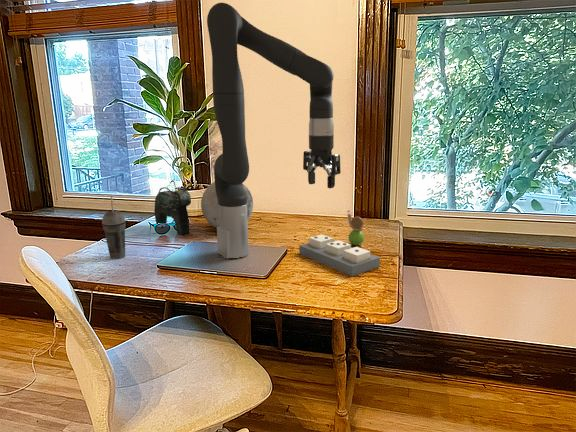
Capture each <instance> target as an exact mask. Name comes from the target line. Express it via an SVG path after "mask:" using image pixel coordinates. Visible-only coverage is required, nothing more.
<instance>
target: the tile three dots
mask: <svg viewBox="0 0 576 432" xmlns="http://www.w3.org/2000/svg"><path fill="white" fill-rule="evenodd" d="M333 241H334V242H330V243H327V244H326V252H329V253H331V254H334V255H336V256H340V255H343V254H344V250H347V249H351V247H352V244H351V243H347V242H345V241H341V240H339V239H338V240H333Z"/></svg>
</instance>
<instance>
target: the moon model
mask: <svg viewBox="0 0 576 432" xmlns="http://www.w3.org/2000/svg"><path fill="white" fill-rule="evenodd" d="M243 189H244V191H245V193H246V196H247V218H248V220H250V219H251V215H252V214H253V210H254V199H253V198H254V197H253V194H252V192H251V191H250V190H249V188H248V186H246V185H245V184H244V183H243ZM200 208H201V213H202V215H203V217H204V218H205V220H206V221H207V222H208V224H209V225H210V226H212V227H213V228H216V229H217V227H219V212H218V198H217V195H216V190H215V181H213V182H211V183H210V184H209V185H208V186H207V187H206V188H205V190H204V191H203V193H202V196H201V200H200Z"/></svg>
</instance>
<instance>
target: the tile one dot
mask: <svg viewBox="0 0 576 432" xmlns="http://www.w3.org/2000/svg"><path fill="white" fill-rule="evenodd" d="M370 254H371V251H370V250H368V249H364V248H361V247H359V246H355V247H354V246H353V247H352V248H351V249H347V250H344V259H347V260H349V261H352V262H354V263H360V262H363V261H366V260H369V259H370Z"/></svg>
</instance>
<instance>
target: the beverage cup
mask: <svg viewBox="0 0 576 432" xmlns="http://www.w3.org/2000/svg"><path fill="white" fill-rule="evenodd" d="M113 200H114V199H113V196H112V195H111V196H110V204H111V205H110V206H111V210H109V211H106V212H105V213H104V214H103V216H102V219H101V225H102V228H103V229H102V230H103V231H104V235H105V240H106V244H107V249H108V254H109V258H110V259H111V260H120V259H123V258H125V257H126V223H127V221H126V218H125V216H124V215H123V213H122V212H121V211H119V210H117V209H114V201H113Z"/></svg>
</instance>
